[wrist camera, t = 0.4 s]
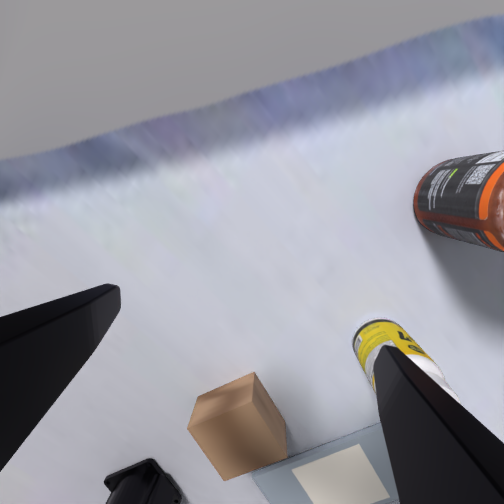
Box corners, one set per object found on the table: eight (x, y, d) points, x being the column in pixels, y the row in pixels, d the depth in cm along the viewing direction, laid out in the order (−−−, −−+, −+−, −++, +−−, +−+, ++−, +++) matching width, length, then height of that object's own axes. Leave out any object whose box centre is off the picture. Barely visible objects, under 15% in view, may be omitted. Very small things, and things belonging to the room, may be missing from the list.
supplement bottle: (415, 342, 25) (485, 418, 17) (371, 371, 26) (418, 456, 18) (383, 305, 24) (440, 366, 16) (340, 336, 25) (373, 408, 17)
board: (291, 528, 31) (292, 535, 31) (252, 472, 30) (252, 478, 29) (429, 481, 29) (433, 488, 28) (394, 417, 27) (397, 422, 26)
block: (230, 442, 29) (224, 481, 25) (198, 394, 28) (187, 428, 24) (284, 420, 28) (287, 457, 24) (254, 370, 27) (251, 401, 23)
